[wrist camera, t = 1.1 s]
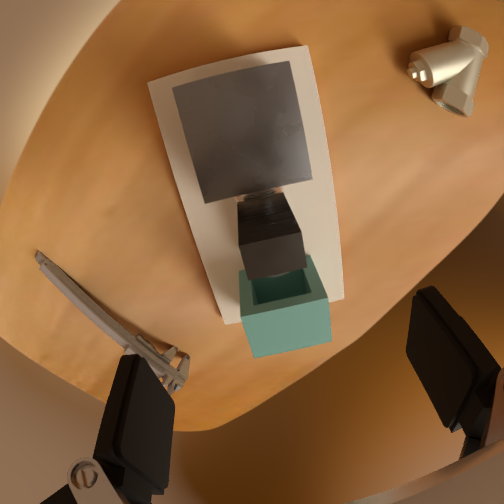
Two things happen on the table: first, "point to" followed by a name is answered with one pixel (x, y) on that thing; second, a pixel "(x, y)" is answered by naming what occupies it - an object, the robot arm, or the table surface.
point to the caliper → (118, 328)
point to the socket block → (284, 311)
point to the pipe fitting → (451, 69)
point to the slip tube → (268, 234)
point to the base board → (225, 211)
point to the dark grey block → (244, 131)
